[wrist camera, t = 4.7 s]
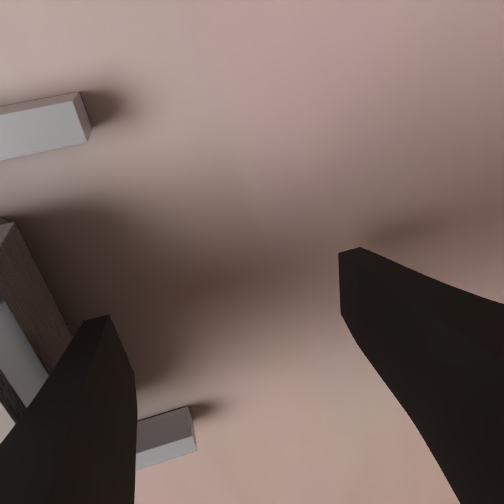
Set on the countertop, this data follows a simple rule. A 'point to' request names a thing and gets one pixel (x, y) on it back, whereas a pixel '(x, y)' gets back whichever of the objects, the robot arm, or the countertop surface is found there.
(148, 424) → the dock
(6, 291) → the trolley
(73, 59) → the countertop surface
